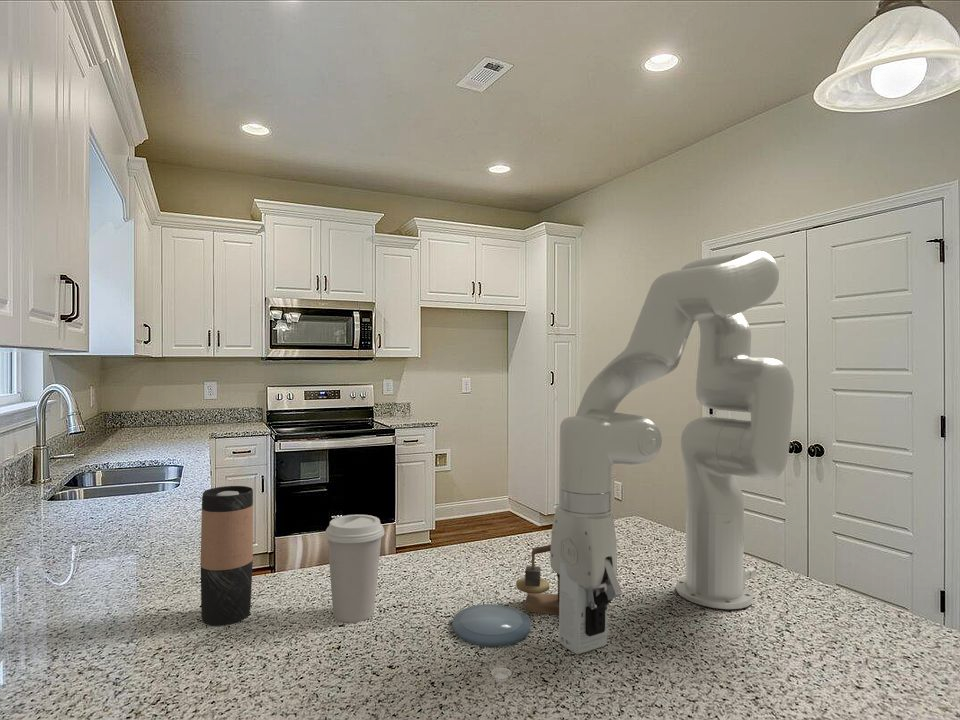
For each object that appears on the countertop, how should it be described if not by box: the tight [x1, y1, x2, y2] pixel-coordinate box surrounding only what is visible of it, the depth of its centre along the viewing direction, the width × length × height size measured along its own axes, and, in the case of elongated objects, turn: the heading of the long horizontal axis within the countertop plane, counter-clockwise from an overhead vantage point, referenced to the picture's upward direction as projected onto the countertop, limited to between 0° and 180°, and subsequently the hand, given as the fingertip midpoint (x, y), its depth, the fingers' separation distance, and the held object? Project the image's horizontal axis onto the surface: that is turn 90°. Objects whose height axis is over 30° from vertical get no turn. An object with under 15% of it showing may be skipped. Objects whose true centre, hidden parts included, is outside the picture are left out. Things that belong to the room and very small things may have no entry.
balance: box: [515, 544, 560, 615], centre depth 95 cm, size 16×6×12 cm, turn 81°
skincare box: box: [558, 561, 608, 655], centre depth 83 cm, size 6×4×12 cm
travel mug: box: [200, 485, 254, 627], centre depth 91 cm, size 8×8×20 cm
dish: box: [452, 603, 531, 647], centre depth 88 cm, size 12×12×1 cm
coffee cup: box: [324, 514, 385, 623], centre depth 92 cm, size 10×10×15 cm
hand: (583, 624), depth 83 cm, fingers closed on skincare box, 4 cm apart
